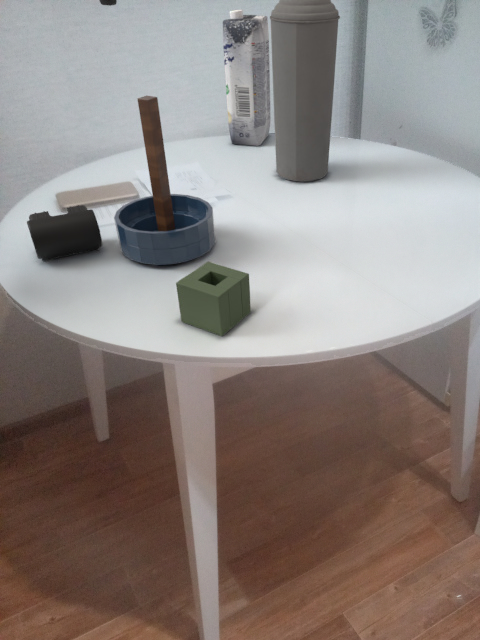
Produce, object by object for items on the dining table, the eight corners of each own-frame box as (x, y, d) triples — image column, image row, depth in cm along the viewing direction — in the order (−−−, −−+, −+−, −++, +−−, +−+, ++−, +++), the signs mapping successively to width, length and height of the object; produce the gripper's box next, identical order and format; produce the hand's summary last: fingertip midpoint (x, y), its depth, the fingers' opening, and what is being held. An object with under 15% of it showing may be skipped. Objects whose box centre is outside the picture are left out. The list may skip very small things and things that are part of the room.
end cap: (41, 269, 87) (28, 228, 83) (35, 250, 92) (23, 211, 88) (105, 255, 90) (96, 216, 86) (96, 238, 95) (87, 200, 91)
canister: (260, 177, 118) (254, -28, 95) (293, 160, 126) (294, -32, 104) (312, 189, 112) (318, -25, 90) (342, 170, 120) (355, -30, 98)
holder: (222, 336, 73) (218, 296, 69) (181, 321, 75) (175, 282, 72) (251, 312, 77) (249, 273, 73) (211, 299, 80) (207, 261, 76)
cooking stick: (169, 246, 91) (147, 100, 77) (160, 243, 92) (137, 98, 78) (177, 241, 93) (157, 97, 79) (168, 238, 93) (146, 95, 79)
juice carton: (273, 135, 141) (270, 7, 123) (262, 148, 133) (258, 13, 116) (239, 133, 142) (232, 6, 125) (226, 145, 134) (217, 12, 117)
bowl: (174, 278, 85) (169, 241, 81) (101, 254, 91) (93, 219, 87) (233, 239, 95) (231, 205, 91) (164, 220, 101) (159, 187, 97)
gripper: (127, -168, 67) (148, -5, 77) (30, -181, 58) (69, 5, 68) (175, -173, 64) (190, -3, 74) (81, -188, 55) (114, 9, 65)
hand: (132, 1), depth 71 cm, fingers open, 8 cm apart
